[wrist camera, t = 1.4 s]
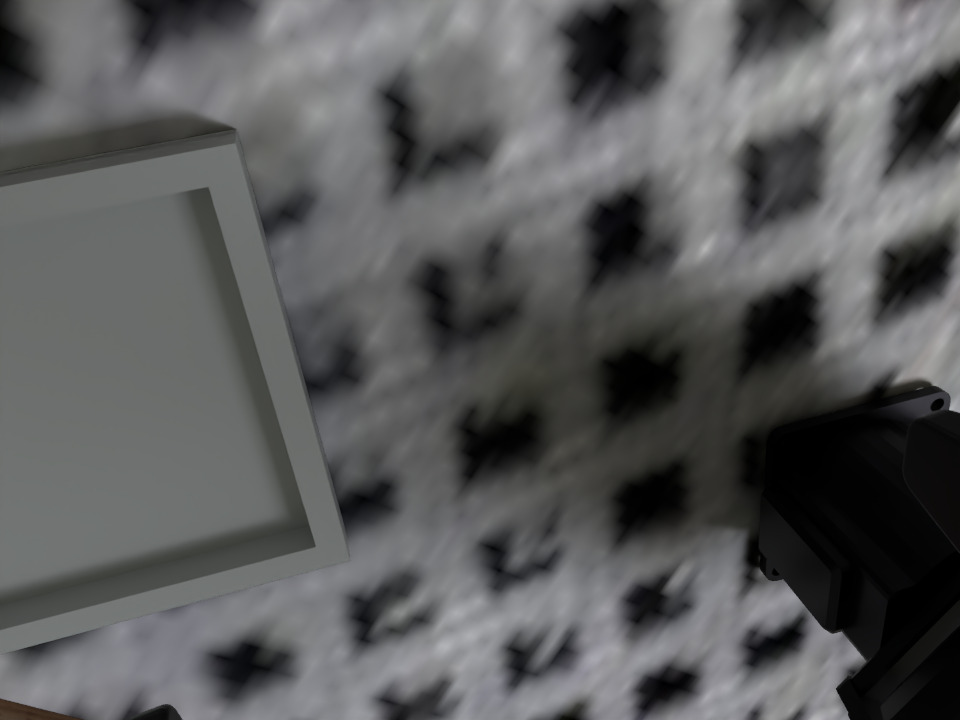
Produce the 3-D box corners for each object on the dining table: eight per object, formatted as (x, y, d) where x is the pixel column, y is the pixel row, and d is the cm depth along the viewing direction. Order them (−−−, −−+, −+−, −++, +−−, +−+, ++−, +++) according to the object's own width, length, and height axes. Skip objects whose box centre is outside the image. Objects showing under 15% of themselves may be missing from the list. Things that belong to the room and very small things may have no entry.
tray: (236, 128, 19) (235, 143, 18) (345, 529, 25) (350, 560, 24) (-352, 236, 17) (-397, 261, 16) (-82, 641, 23) (-100, 681, 22)
